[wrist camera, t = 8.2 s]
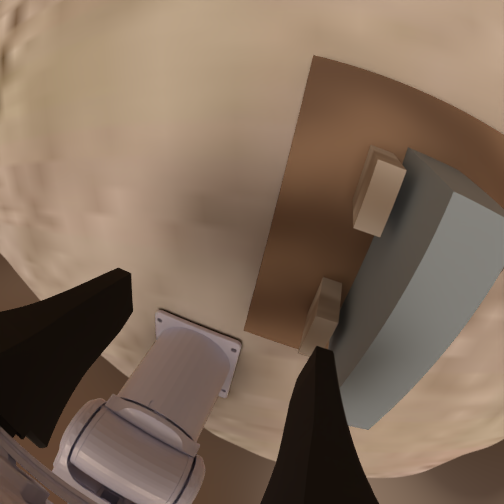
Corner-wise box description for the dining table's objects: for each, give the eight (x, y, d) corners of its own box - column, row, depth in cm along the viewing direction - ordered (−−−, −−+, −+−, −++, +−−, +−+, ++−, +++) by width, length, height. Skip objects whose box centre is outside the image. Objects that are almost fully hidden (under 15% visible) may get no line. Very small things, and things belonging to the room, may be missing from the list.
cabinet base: (413, 367, 21) (416, 418, 17) (249, 317, 23) (226, 366, 19) (533, 158, 11) (579, 185, 7) (316, 58, 13) (303, 43, 9)
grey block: (382, 341, 19) (381, 432, 13) (331, 326, 19) (315, 417, 13) (470, 176, 12) (537, 237, 6) (408, 147, 13) (453, 191, 7)
